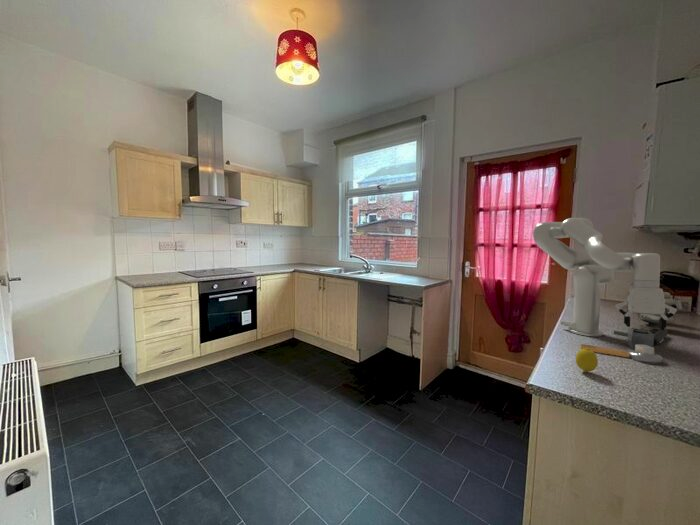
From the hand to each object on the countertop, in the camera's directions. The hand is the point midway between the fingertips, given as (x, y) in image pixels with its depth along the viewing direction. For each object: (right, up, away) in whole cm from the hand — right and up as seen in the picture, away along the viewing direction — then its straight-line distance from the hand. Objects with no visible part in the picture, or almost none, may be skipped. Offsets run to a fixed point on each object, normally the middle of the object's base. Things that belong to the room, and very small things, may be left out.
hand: (644, 327), depth 116 cm
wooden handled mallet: (-16, -9, -6) cm, 19 cm away
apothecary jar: (+31, -7, +26) cm, 41 cm away
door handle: (+13, -8, +14) cm, 21 cm away
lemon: (-40, -10, -20) cm, 46 cm away
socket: (0, -8, +2) cm, 8 cm away
